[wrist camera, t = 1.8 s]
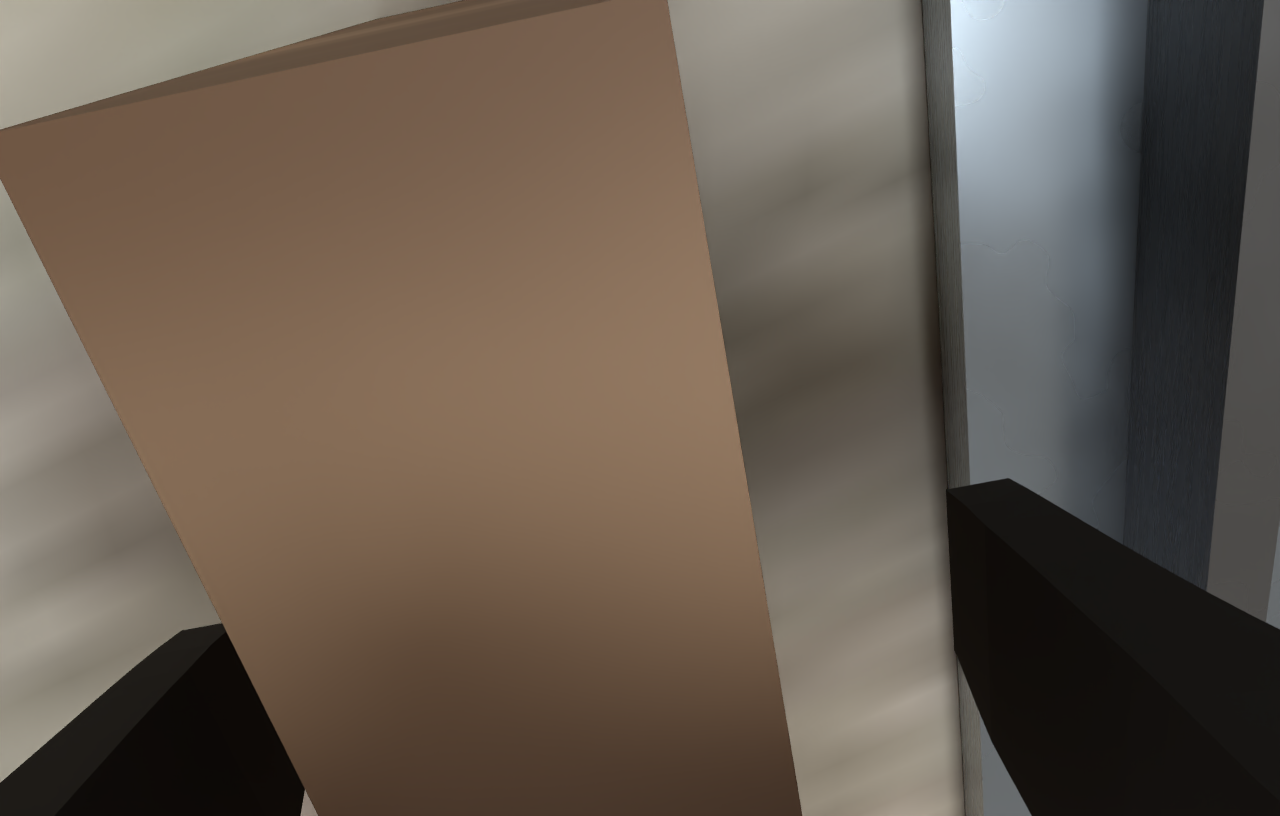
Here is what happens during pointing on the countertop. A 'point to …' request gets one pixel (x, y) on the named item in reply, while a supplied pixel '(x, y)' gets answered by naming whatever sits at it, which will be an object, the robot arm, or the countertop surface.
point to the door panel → (438, 404)
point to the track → (1113, 282)
